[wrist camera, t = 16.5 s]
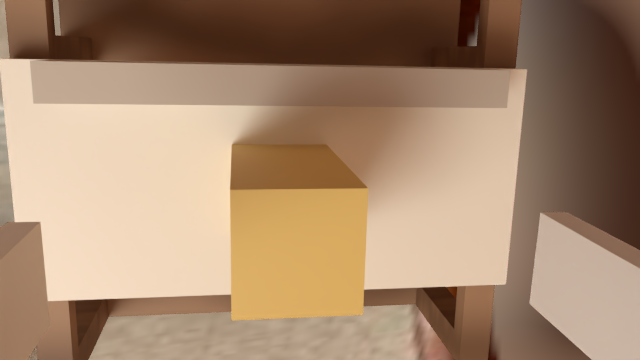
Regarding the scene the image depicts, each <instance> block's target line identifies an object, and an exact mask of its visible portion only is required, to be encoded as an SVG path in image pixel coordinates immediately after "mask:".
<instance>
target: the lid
mask: <svg viewBox="0 0 640 360" xmlns="http://www.w3.org/2000/svg"><path fill="white" fill-rule="evenodd" d="M0 73H1V83H2V94H3V104H4V115H5V125H6V135H7V146H8V156H9V167H10V177H11V187H12V198H13V208H14V219H15V222H41V233H42V244H43V255H44V266H45V277H46V287H47V298H48V301H67V300H94V299H122V298H149V297H176V296H203V295H231V233H230V177H231V148H232V144H242V145H327V146H328V147H329V148H330V149H331V150H332V151H333V152H334V153H335V154H336V155H337V156H338V157H339V158H340V159H341V160H342V161H343V162H344V163H345V164H346V165H347V166H348V167H349V169H350V170H351V171H352V172H353V173H354V174H355V175H356V176H357V177H358V178H359V179H360V180H361V181H362V182H363V183H364V184H365V185H366V186H367V187H368V210H367V233H366V257H365V280H364V290H367V289H394V288H421V287H449V286H476V285H501V284H506V277H507V267H508V257H509V247H510V237H511V227H512V217H513V206H514V197H515V186H516V177H517V166H518V157H519V147H520V136H521V126H522V117H523V107H524V96H525V86H526V77H527V69H505V68H456V67H406V66H356V65H307V64H257V63H208V62H158V61H109V60H59V59H10V58H6V59H0Z"/></svg>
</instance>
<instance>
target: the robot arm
mask: <svg viewBox="0 0 640 360" xmlns="http://www.w3.org/2000/svg"><path fill="white" fill-rule="evenodd" d="M530 305H532V306H533V307H534V308H535V309H536V310H537V311H538V312H539V313H541V314H542V315H543V316H544V317H545V318H546V319H547V320H548V321H549V322H551V323H552V324H553V325H554V326H555V327H556V328H557V329H558V330H559V331H561V332H562V333H563V334H564V335H565V336H566V337H567V338H569V340H571V341H572V342H573V343H574V344H575V345H576V346H577V347H578V348H580V349H581V350H582V351H583V352H584V353H585V354H586V355H587V356H588V357H590V358H591V359H592V360H640V250H638V249H636V248H634V247H632V246H630V245H628V244H627V243H625V242H622V241H621V240H619V239H617V238H615V237H613V236H611V235H609V234H607V233H605V232H603V231H602V230H600V229H598V228H596V227H594V226H592V225H590V224H588V223H586V222H584V221H583V220H581V219H579V218H577V217H575V216H573V215H571V214H569V213H567V212H541V213H540V221H539V229H538V238H537V246H536V254H535V262H534V271H533V279H532V288H531V297H530ZM49 325H50V320H49V309H48V298H47V287H46V277H45V266H44V255H43V244H42V233H41V222H7V223H6V224H4V225H3V226H2V227H1V228H0V360H28V358H29V356H30V355H31V353H32V352H33V350H34V349H35V347H36V345H37V344H38V342H39V341H40V339H41V338H42V336H43V335H44V333H45V331H46V330H47V328H48V327H49Z"/></svg>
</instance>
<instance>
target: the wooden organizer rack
mask: <svg viewBox="0 0 640 360" xmlns="http://www.w3.org/2000/svg"><path fill="white" fill-rule="evenodd" d="M58 1H59V14H60V28H61V36H55V26H54V13H53V0H5V10H6V21H7V31H8V42H9V53H10V59H59V60H109V61H158V62H208V63H257V64H307V65H356V66H406V67H456V68H505V69H515V67H516V57H517V45H518V36H519V25H520V15H521V4H522V0H480V12H479V25H478V37H477V46H464V47H457V43H458V30H459V16H460V2H461V0H58ZM494 286H495V285H476V286H457V299H456V298H455V297H454V296H453V295H452V294H451V293H450V292H449V290H448V289H447V288H446V287H421V288H394V289H367V290H364V303H363V306H382V305H406V304H416V305H417V307H418V308H419V310H420V311H421V313H422V314H423V315H424V317H425V318H426V320H427V321H428V322H429V324H430V325H431V327H432V328H433V329H434V331H435V332H436V334H437V335H438V337H439V338H440V339H441V341H442V342H443V344H444V345H445V346H446V348H447V349H448V351H449V352H450V354H451V355H452V356H453V358H454V359H455V360H488V351H489V340H490V330H491V319H492V309H493V298H494ZM48 309H49V320H50V325H49V327H48V328H47V330H46V331H45V333H44V335H43V336H42V338H41V339H40V341H39V342H38V344H37V345H36V346H37V357H38V360H88V359H89V357H90V355H91V353H92V351H93V349H94V346H95V344H96V342H97V340H98V338H99V336H100V334H101V332H102V330H103V327H104V325H105V323H106V321H107V319H108V317H113V316H138V315H162V314H187V313H211V312H231V295H203V296H176V297H149V298H122V299H94V300H67V301H48Z"/></svg>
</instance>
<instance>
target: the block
mask: <svg viewBox="0 0 640 360" xmlns="http://www.w3.org/2000/svg"><path fill="white" fill-rule="evenodd" d="M367 210H368V187H367V186H366V185H365V184H364V183H363V182H362V181H361V180H360V179H359V178H358V177H357V176H356V175H355V174H354V173H353V172H352V171H351V170H350V169H349V167H348V166H347V165H346V164H345V163H344V162H343V161H342V160H341V159H340V158H339V157H338V156H337V155H336V154H335V153H334V152H333V151H332V150H331V149H330V148H329V147H328V146H327V145H242V144H232V148H231V177H230V233H231V320H253V319H277V318H300V317H324V316H347V315H363V303H364V280H365V257H366V233H367Z"/></svg>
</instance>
